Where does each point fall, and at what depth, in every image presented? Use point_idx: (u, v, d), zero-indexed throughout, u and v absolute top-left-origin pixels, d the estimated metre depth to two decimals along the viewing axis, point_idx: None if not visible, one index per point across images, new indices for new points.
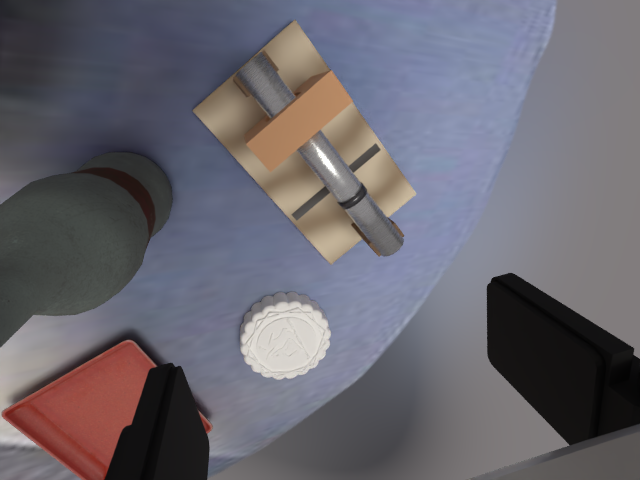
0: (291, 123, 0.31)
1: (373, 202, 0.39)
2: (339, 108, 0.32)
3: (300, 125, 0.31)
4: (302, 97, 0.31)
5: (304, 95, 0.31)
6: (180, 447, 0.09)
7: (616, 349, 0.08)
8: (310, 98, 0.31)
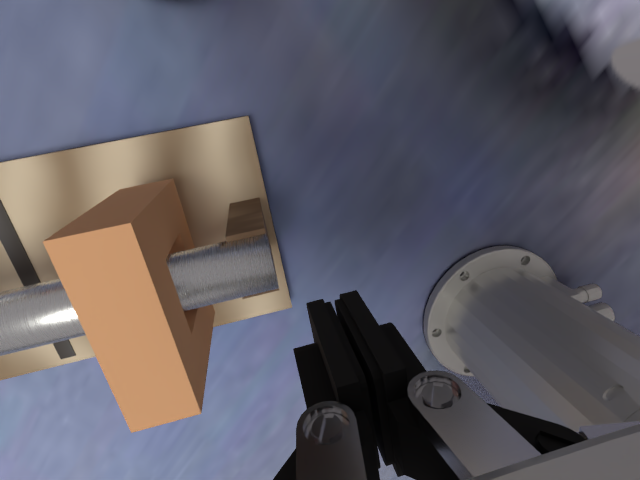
0: (135, 323, 0.15)
1: None
2: (128, 408, 0.16)
3: (124, 336, 0.15)
4: (176, 357, 0.16)
5: (178, 361, 0.16)
6: None
7: (390, 368, 0.08)
8: (168, 368, 0.16)
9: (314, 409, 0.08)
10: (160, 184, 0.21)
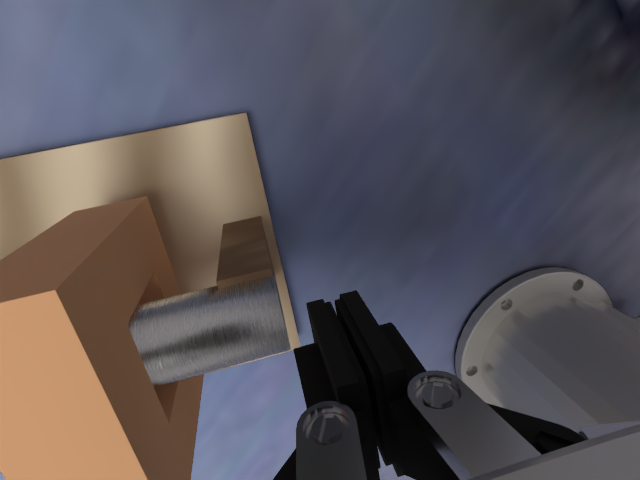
0: (73, 438, 0.10)
1: None
2: None
3: (56, 458, 0.10)
4: None
5: None
6: None
7: (390, 368, 0.08)
8: None
9: (314, 409, 0.08)
10: (127, 205, 0.15)
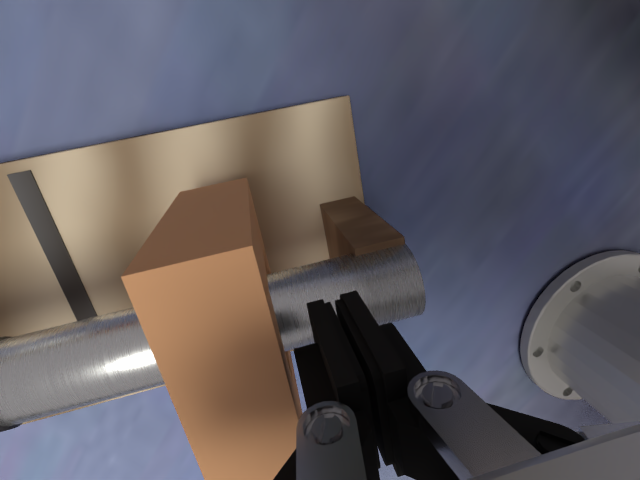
0: (245, 388, 0.10)
1: None
2: None
3: (227, 408, 0.10)
4: None
5: None
6: None
7: (391, 368, 0.08)
8: (283, 447, 0.11)
9: (314, 409, 0.08)
10: (236, 185, 0.16)
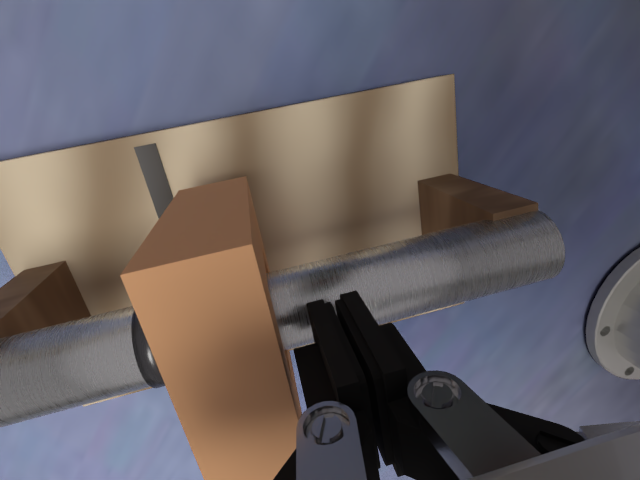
0: (244, 387, 0.10)
1: None
2: None
3: (227, 407, 0.10)
4: (295, 430, 0.11)
5: None
6: None
7: (391, 368, 0.08)
8: (282, 447, 0.11)
9: (314, 409, 0.08)
10: (235, 183, 0.16)
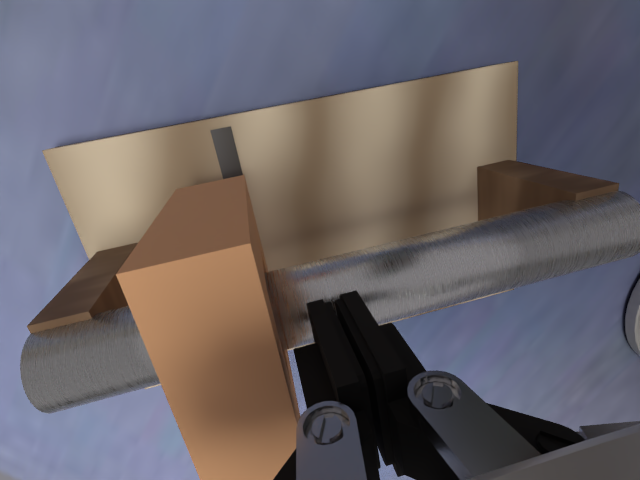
0: (242, 389, 0.10)
1: None
2: None
3: (224, 408, 0.10)
4: (294, 432, 0.11)
5: None
6: None
7: (391, 368, 0.08)
8: (280, 448, 0.11)
9: (314, 409, 0.08)
10: (233, 182, 0.16)
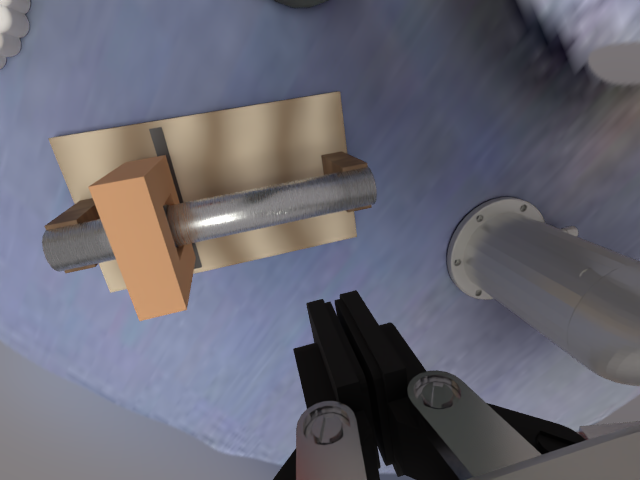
0: (144, 243, 0.23)
1: None
2: (138, 303, 0.24)
3: (136, 252, 0.23)
4: (170, 268, 0.24)
5: (172, 271, 0.24)
6: None
7: (391, 368, 0.08)
8: (165, 276, 0.24)
9: (314, 409, 0.08)
10: (156, 158, 0.29)
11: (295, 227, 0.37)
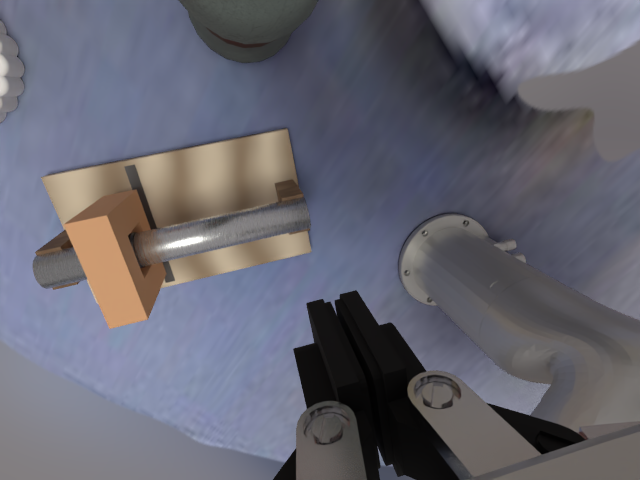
0: (110, 267, 0.29)
1: None
2: (107, 314, 0.30)
3: (104, 274, 0.29)
4: (132, 286, 0.30)
5: (134, 288, 0.30)
6: None
7: (391, 368, 0.08)
8: (128, 292, 0.30)
9: (314, 409, 0.08)
10: (127, 193, 0.35)
11: (255, 245, 0.43)
